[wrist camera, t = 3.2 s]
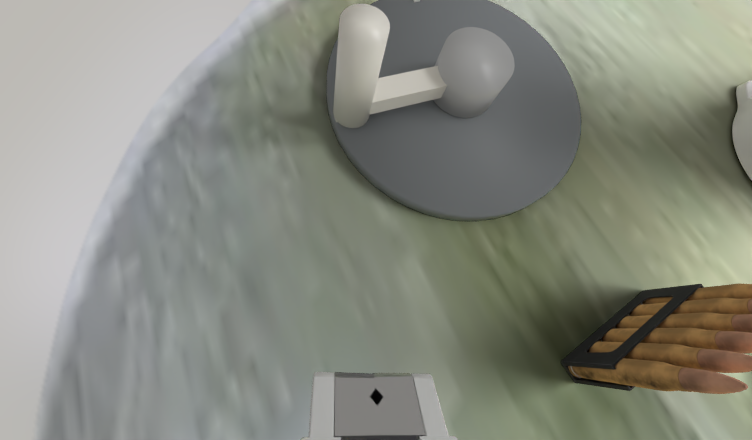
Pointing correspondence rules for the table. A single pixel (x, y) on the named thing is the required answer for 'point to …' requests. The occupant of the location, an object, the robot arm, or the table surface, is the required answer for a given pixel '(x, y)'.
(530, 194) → the dial plate
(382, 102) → the dial lever
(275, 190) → the table surface
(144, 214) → the table surface
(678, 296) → the ammunition clip
